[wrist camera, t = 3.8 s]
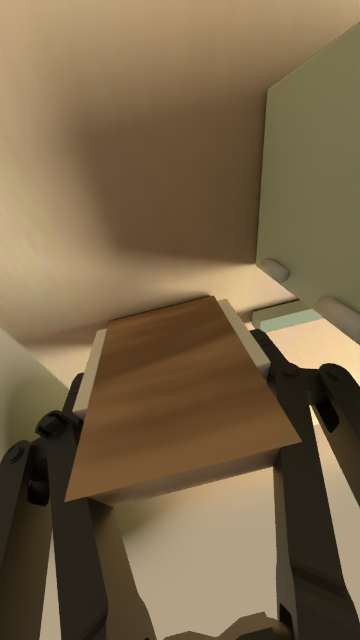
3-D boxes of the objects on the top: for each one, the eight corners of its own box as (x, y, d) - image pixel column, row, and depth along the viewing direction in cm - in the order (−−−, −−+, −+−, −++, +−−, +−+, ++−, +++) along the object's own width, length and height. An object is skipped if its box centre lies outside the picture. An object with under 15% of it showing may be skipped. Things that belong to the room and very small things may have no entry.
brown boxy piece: (108, 321, 16) (64, 502, 7) (213, 295, 16) (302, 441, 7) (124, 349, 18) (105, 514, 9) (216, 327, 18) (286, 468, 9)
